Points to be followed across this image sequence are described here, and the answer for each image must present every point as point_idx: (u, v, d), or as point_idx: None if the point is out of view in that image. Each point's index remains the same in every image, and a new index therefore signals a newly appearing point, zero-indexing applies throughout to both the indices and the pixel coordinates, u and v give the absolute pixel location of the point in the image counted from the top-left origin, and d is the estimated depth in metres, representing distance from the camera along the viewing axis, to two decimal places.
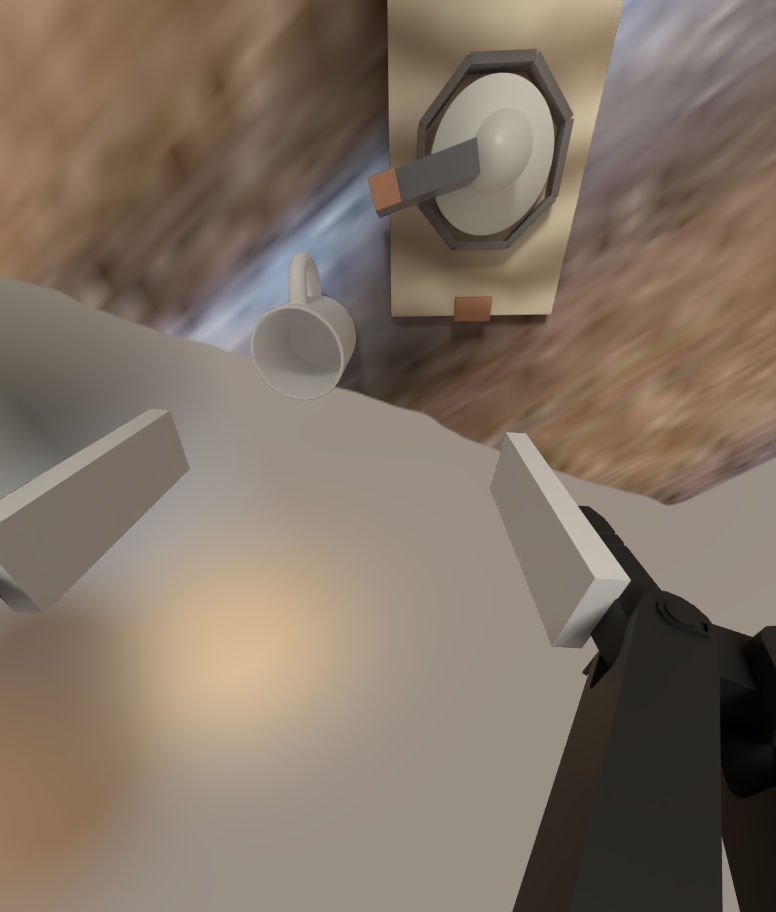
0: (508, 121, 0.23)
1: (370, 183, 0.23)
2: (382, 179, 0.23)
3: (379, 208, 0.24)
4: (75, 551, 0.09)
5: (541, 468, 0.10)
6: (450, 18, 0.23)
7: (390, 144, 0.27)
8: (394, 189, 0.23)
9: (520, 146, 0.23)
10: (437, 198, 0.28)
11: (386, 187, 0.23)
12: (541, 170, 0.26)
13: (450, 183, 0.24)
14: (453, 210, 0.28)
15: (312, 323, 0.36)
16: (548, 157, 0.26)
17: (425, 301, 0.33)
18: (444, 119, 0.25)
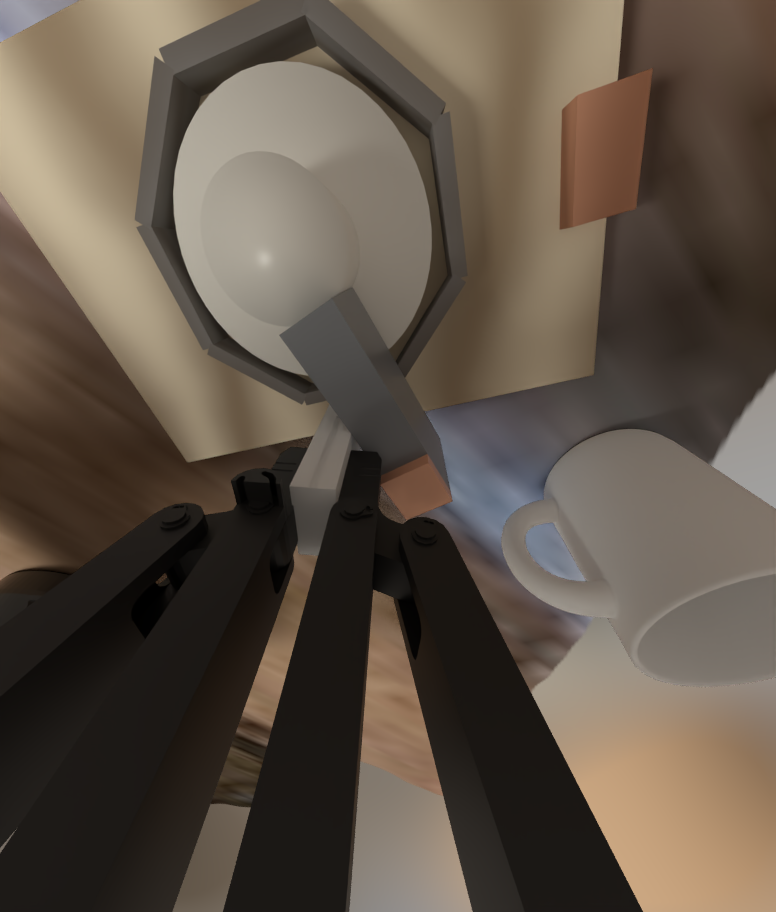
0: (228, 258, 0.10)
1: (413, 515, 0.12)
2: (403, 498, 0.12)
3: (447, 495, 0.12)
4: None
5: None
6: (197, 379, 0.17)
7: None
8: (412, 477, 0.12)
9: (249, 197, 0.09)
10: (389, 344, 0.14)
11: (413, 491, 0.12)
12: (269, 94, 0.10)
13: (371, 364, 0.10)
14: (399, 304, 0.13)
15: None
16: (241, 88, 0.10)
17: (566, 306, 0.15)
18: (287, 367, 0.15)
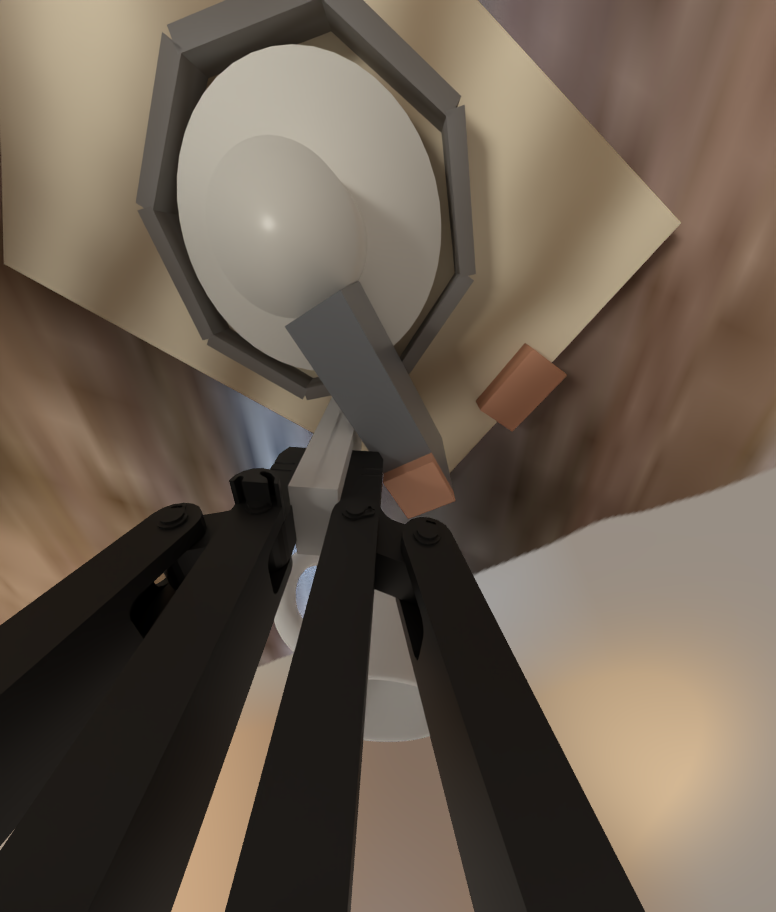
0: (233, 245, 0.09)
1: (415, 514, 0.12)
2: (405, 497, 0.12)
3: (450, 495, 0.12)
4: None
5: (347, 422, 0.12)
6: (101, 208, 0.13)
7: (224, 382, 0.17)
8: (416, 476, 0.11)
9: (257, 182, 0.09)
10: (394, 340, 0.14)
11: (416, 489, 0.12)
12: (279, 78, 0.10)
13: (378, 359, 0.10)
14: (406, 299, 0.13)
15: None
16: (251, 71, 0.10)
17: (445, 445, 0.19)
18: (289, 361, 0.15)
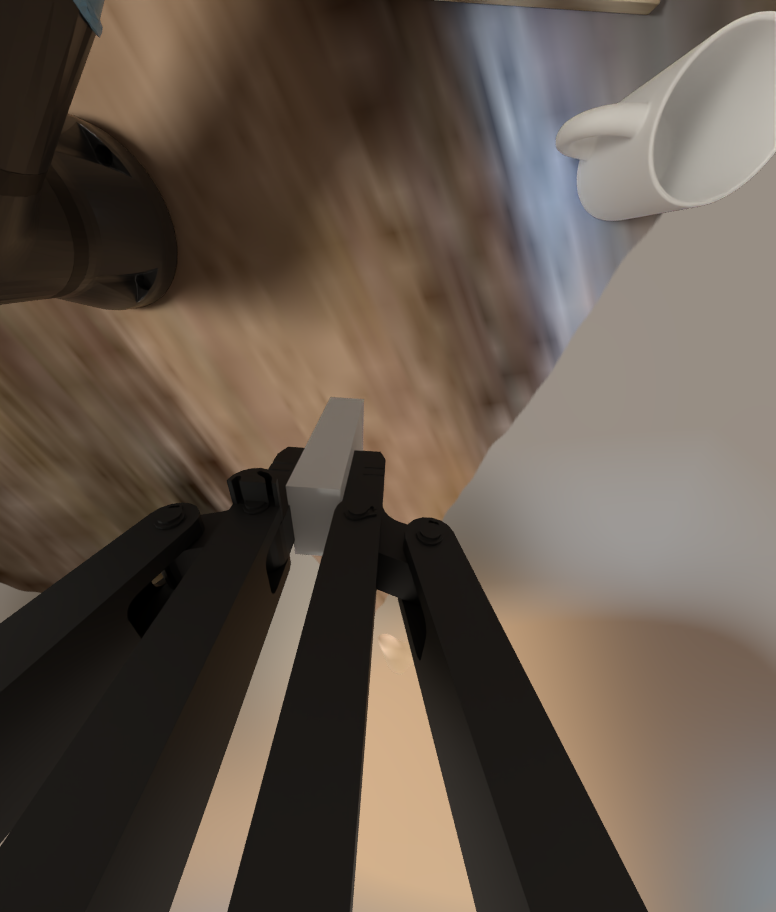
0: None
1: None
2: None
3: None
4: None
5: (349, 422, 0.12)
6: None
7: None
8: None
9: None
10: None
11: None
12: None
13: None
14: None
15: None
16: None
17: None
18: None
